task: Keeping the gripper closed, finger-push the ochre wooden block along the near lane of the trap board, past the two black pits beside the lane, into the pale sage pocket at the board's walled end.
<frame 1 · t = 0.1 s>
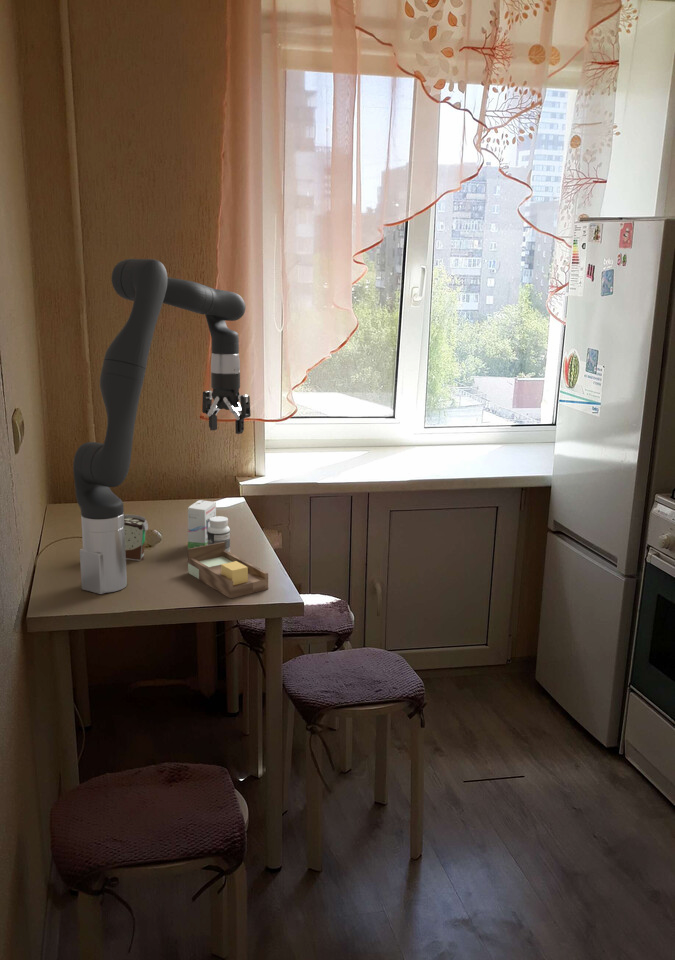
hand: (226, 431, 221), 29 cm above the table, fingers open, 8 cm apart
pill bottle: (219, 556, 212), on the table
food container: (130, 555, 211), on the table
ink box: (202, 548, 218), on the table
trap board: (227, 580, 195), on the table
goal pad: (207, 574, 199), on the table
ochre block: (234, 580, 188), point 2 cm above the table, touching trap board
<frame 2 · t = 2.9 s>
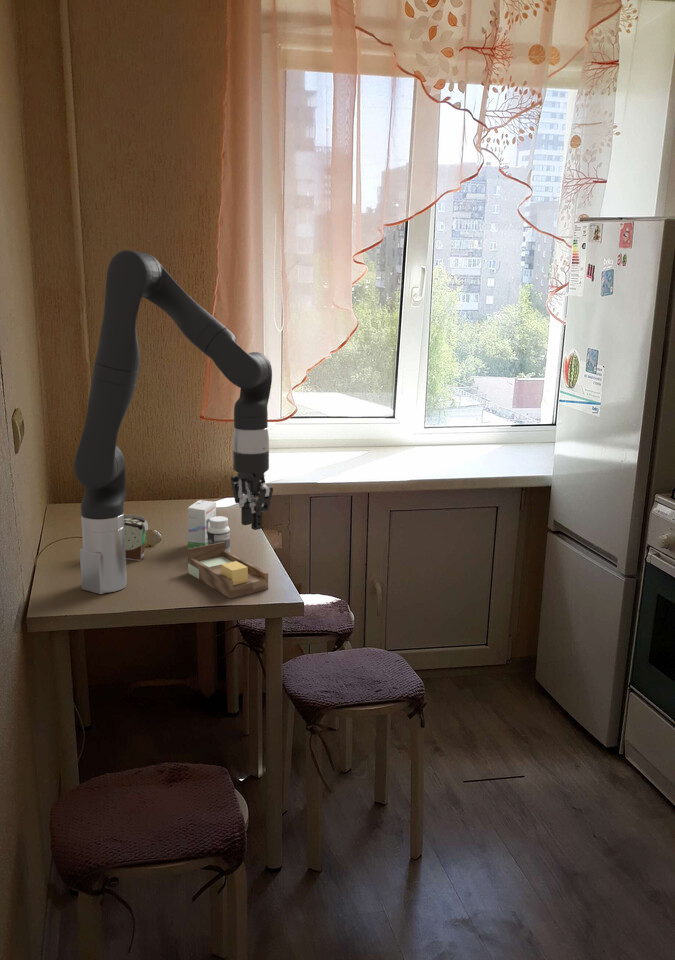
hand: (251, 526, 179), 17 cm above the table, fingers open, 3 cm apart
nothing on the table moved.
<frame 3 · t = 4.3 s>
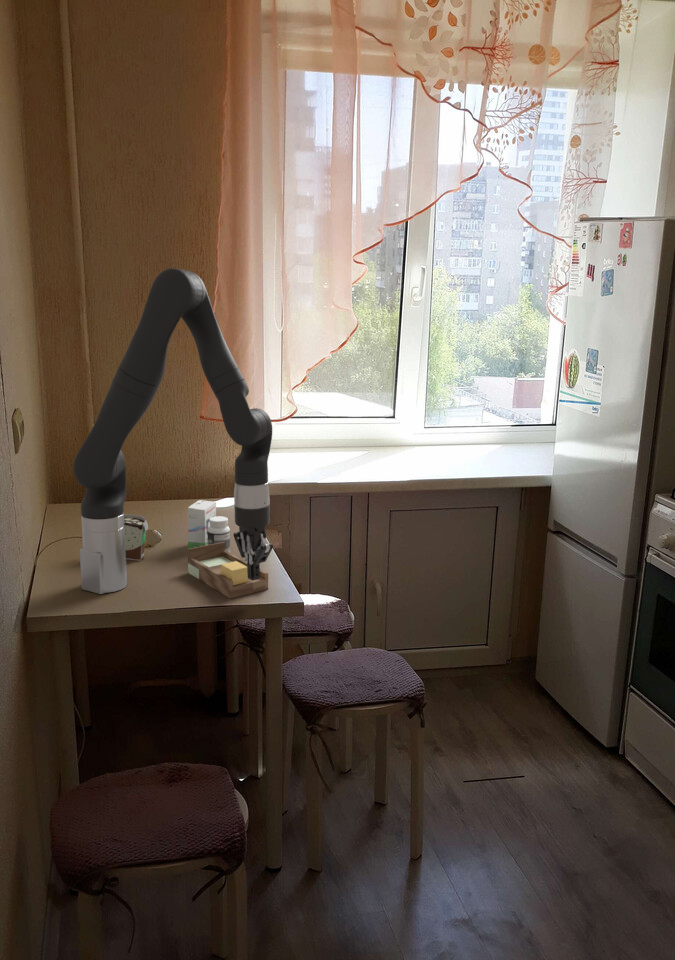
hand: (253, 578, 182), 5 cm above the table, fingers closed
nothing on the table moved.
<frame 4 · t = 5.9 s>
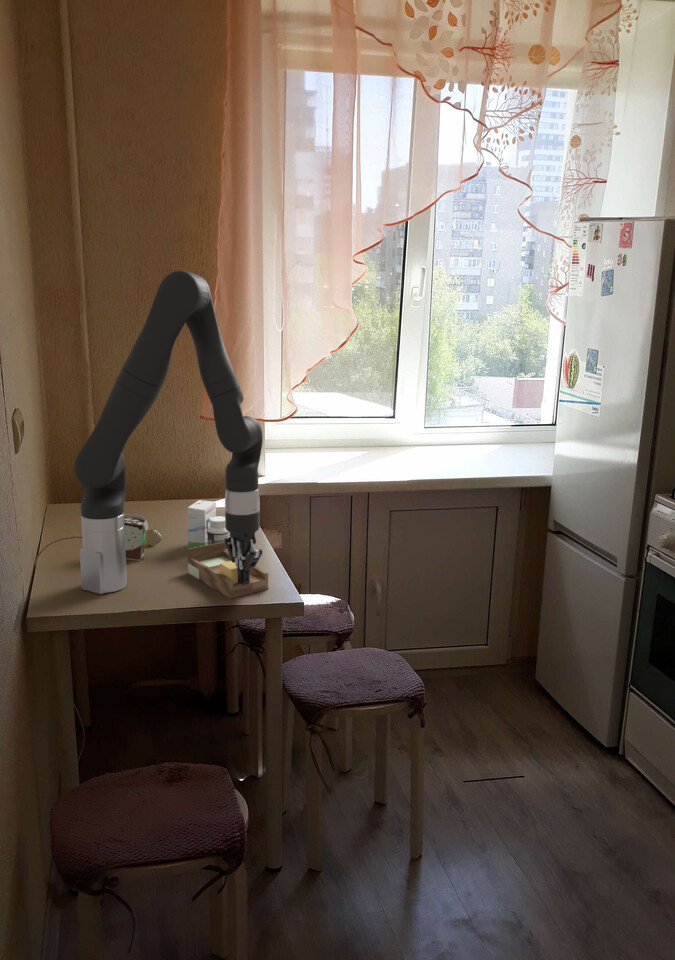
hand: (243, 583, 185), 3 cm above the table, fingers closed
ochre block: (233, 579, 189), point 3 cm above the table, touching gripper
everything else where it was.
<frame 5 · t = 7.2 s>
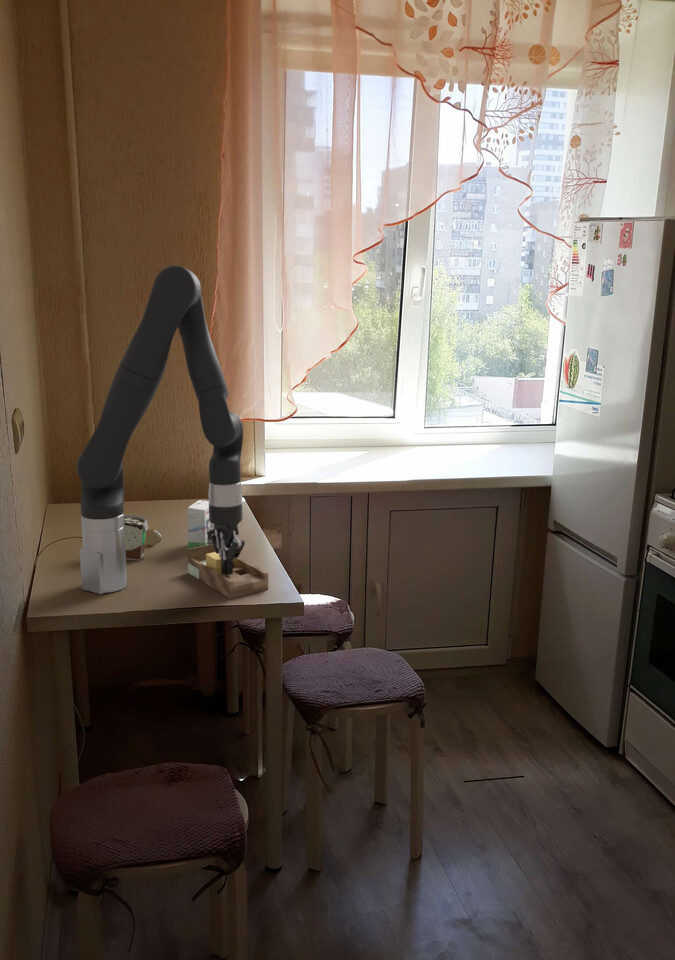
hand: (227, 573, 191), 3 cm above the table, fingers closed
ochre block: (218, 569, 195), point 3 cm above the table, touching gripper
everything else where it was.
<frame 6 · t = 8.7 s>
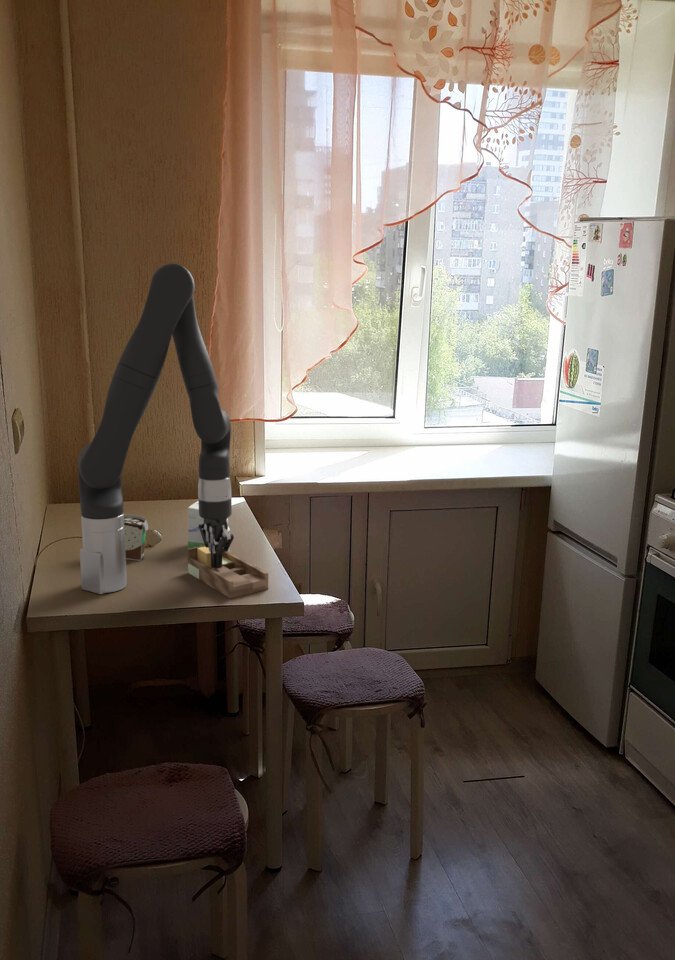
hand: (216, 567, 195), 3 cm above the table, fingers closed
ochre block: (209, 563, 199), point 2 cm above the table, touching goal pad, gripper, trap board
everything else where it was.
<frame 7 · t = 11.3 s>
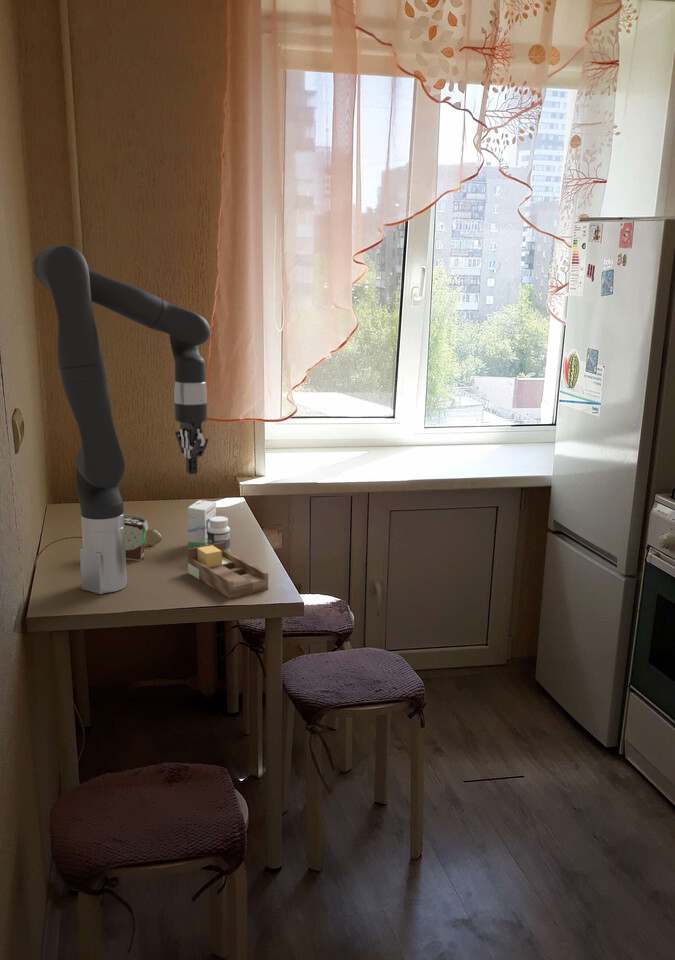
hand: (191, 473, 197), 24 cm above the table, fingers closed
ochre block: (209, 563, 199), point 2 cm above the table, touching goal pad, trap board
everything else where it was.
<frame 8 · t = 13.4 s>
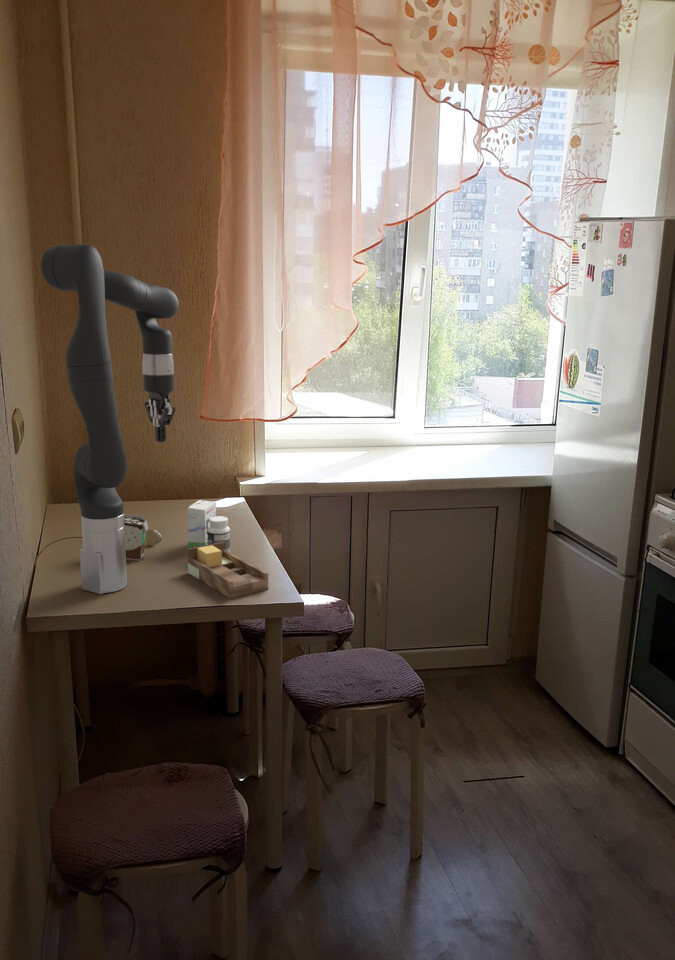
hand: (160, 441, 208), 29 cm above the table, fingers closed
nothing on the table moved.
at the end: ochre block 1.0 cm from the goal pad (horizontally); ochre block point 2.5 cm above the table; ochre block tilted 0° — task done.
